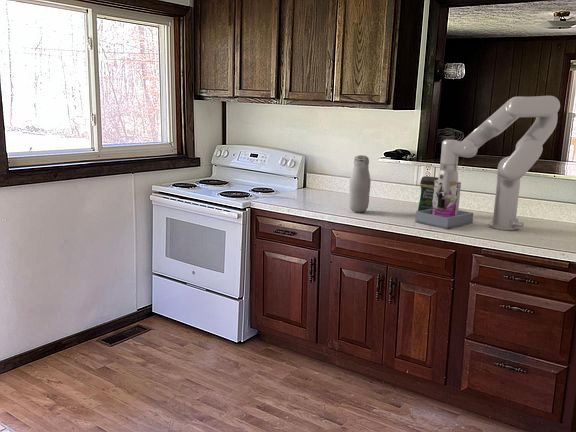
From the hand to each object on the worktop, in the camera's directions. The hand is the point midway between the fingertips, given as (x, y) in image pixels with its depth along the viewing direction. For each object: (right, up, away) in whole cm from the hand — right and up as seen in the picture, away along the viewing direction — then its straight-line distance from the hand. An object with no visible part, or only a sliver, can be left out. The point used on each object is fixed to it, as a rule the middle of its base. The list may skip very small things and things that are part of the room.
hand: (445, 206), depth 252 cm
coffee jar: (-3, -4, +20) cm, 20 cm away
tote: (0, -8, +2) cm, 8 cm away
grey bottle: (-37, -3, +21) cm, 43 cm away
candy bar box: (0, -5, +1) cm, 5 cm away
